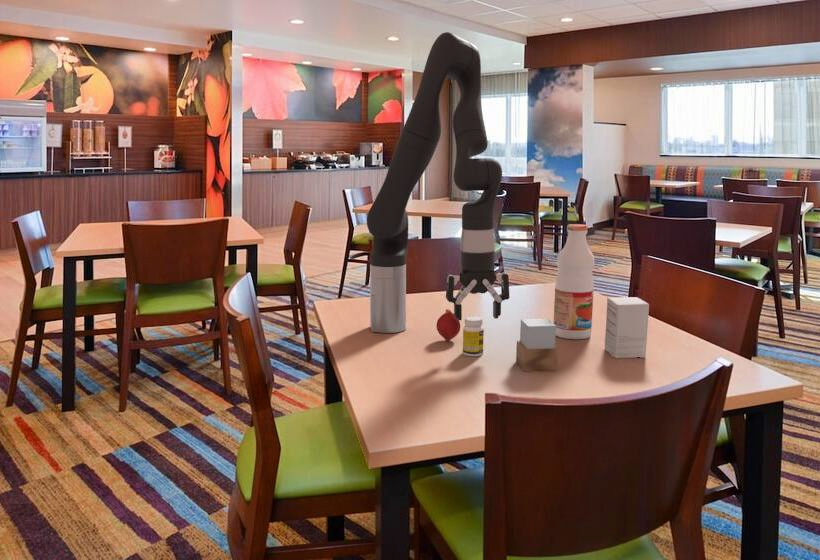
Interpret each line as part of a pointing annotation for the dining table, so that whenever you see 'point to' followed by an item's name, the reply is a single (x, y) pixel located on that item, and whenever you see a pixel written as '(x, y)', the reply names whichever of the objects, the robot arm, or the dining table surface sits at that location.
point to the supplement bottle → (473, 336)
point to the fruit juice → (574, 286)
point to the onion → (448, 325)
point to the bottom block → (536, 359)
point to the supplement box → (626, 327)
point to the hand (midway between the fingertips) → (477, 318)
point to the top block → (537, 333)
